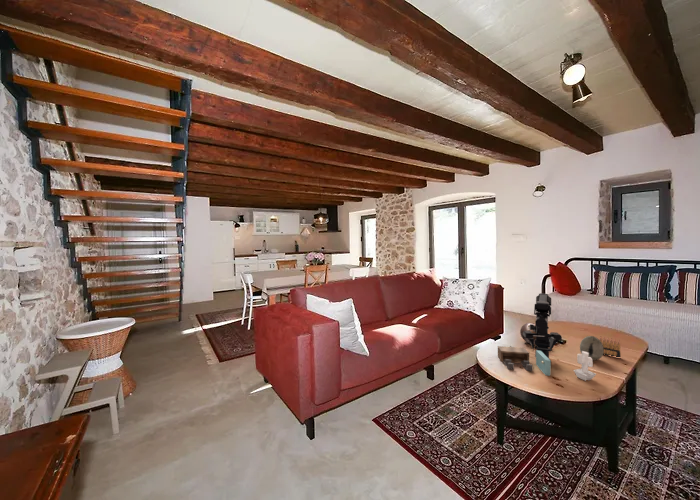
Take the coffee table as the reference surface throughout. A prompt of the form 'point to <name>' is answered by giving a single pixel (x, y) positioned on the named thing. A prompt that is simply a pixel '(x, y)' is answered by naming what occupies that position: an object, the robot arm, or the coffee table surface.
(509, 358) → the brown legged block
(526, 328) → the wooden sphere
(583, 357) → the figurine
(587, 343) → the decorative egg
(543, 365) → the door
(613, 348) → the ammunition clip
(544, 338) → the robot arm
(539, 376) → the coffee table surface
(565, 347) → the coffee table surface
